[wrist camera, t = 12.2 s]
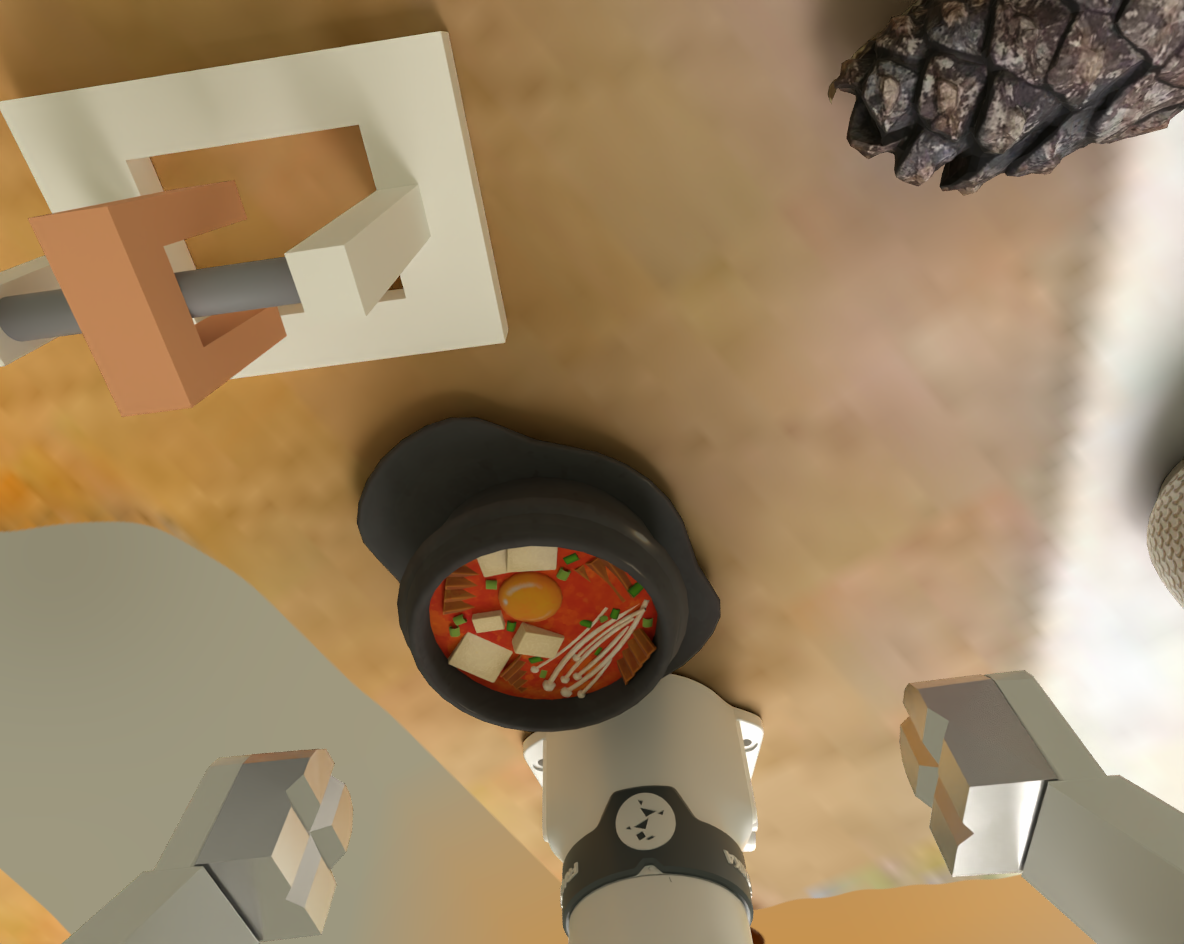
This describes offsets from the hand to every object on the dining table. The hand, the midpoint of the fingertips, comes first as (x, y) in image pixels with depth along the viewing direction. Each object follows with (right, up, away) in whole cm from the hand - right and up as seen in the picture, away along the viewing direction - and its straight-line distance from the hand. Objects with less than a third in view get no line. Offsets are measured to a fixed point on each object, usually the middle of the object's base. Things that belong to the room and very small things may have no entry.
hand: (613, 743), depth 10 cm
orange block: (-16, +13, +20) cm, 28 cm away
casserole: (-3, -1, +37) cm, 37 cm away
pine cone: (+19, +23, +23) cm, 38 cm away
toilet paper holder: (-16, +16, +26) cm, 34 cm away
